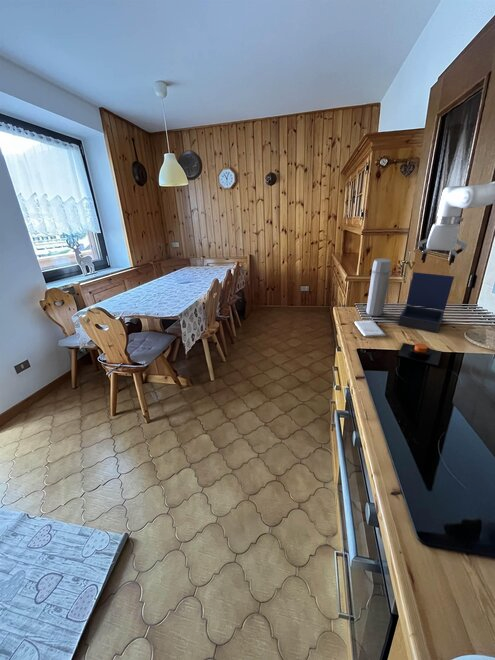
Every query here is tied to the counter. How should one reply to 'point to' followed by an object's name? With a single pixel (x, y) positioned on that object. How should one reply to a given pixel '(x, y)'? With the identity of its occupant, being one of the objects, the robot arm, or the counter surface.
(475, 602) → the counter surface
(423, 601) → the counter surface
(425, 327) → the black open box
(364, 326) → the hard drive
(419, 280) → the cover
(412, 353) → the switch block
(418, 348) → the button
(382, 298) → the water bottle
